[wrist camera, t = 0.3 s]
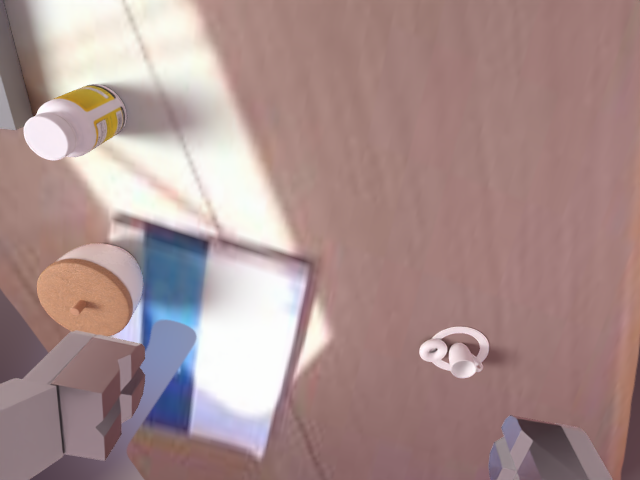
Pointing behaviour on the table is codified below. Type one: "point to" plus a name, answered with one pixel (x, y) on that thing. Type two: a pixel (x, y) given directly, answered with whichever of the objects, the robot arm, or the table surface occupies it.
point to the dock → (11, 80)
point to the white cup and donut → (456, 352)
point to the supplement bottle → (75, 122)
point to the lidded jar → (92, 289)
